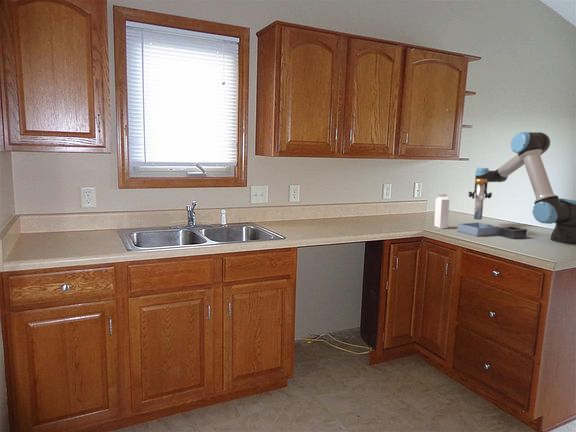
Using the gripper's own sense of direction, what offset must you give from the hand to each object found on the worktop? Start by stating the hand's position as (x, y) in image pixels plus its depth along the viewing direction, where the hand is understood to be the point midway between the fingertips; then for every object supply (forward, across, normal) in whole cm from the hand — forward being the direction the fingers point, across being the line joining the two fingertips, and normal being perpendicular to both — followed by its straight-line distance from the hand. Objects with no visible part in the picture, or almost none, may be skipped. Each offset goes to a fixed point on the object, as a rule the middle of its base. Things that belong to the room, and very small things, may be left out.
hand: (479, 196), depth 247 cm
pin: (-5, 0, -14) cm, 15 cm away
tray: (-5, 0, -23) cm, 23 cm away
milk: (-14, +22, -23) cm, 35 cm away
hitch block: (-2, -19, -22) cm, 29 cm away
